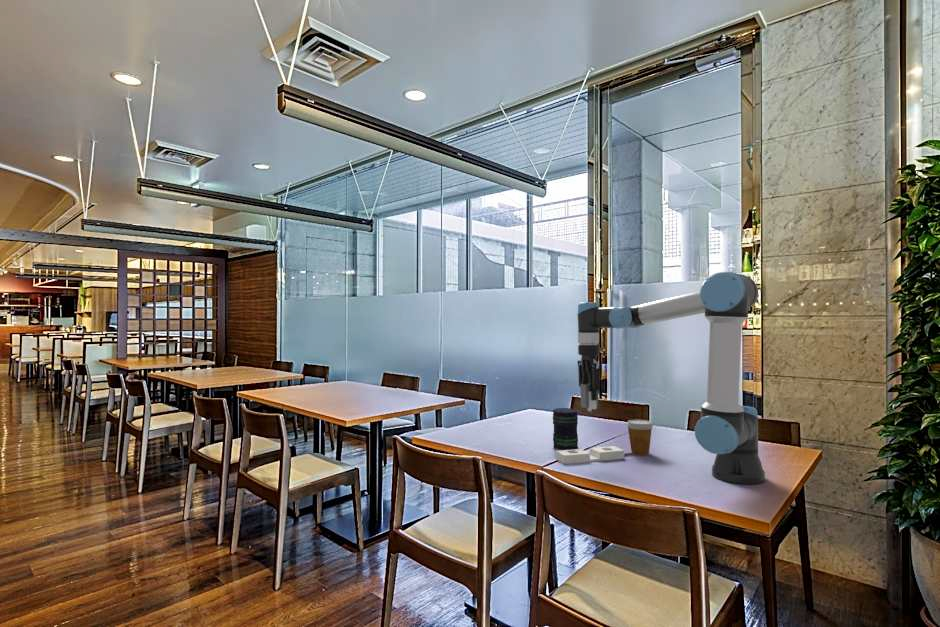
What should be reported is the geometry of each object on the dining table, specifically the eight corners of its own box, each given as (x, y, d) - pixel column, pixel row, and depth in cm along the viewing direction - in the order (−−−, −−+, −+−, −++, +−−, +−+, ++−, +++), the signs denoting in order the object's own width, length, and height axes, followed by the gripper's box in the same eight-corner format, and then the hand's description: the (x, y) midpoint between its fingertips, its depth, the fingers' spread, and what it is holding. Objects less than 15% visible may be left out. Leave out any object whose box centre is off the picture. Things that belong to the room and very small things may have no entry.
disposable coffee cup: (650, 450, 200) (649, 419, 200) (656, 457, 190) (655, 424, 190) (625, 450, 201) (624, 419, 201) (629, 456, 191) (628, 424, 192)
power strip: (638, 457, 190) (638, 448, 190) (564, 464, 182) (564, 455, 182) (627, 452, 197) (627, 444, 197) (555, 459, 189) (555, 450, 189)
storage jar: (559, 443, 212) (559, 407, 213) (582, 446, 207) (581, 409, 207) (548, 448, 204) (548, 410, 205) (571, 452, 199) (571, 413, 199)
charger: (598, 411, 188) (598, 383, 188) (585, 412, 186) (585, 384, 186) (592, 410, 191) (592, 382, 192) (580, 410, 190) (580, 382, 190)
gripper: (610, 344, 182) (611, 411, 182) (586, 343, 198) (587, 404, 198) (590, 345, 180) (591, 412, 180) (568, 343, 196) (569, 405, 196)
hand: (589, 407), depth 189 cm, fingers closed on charger, 4 cm apart
